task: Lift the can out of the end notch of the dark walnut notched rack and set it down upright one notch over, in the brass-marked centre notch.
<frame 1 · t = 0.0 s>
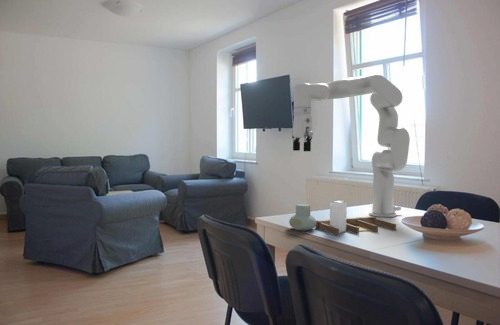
hand: (301, 150, 178), 31 cm above the table, fingers open, 9 cm apart
can: (337, 231, 161), resting in notch rack
air freshener: (302, 229, 164), on the table
notch rack: (356, 229, 165), on the table
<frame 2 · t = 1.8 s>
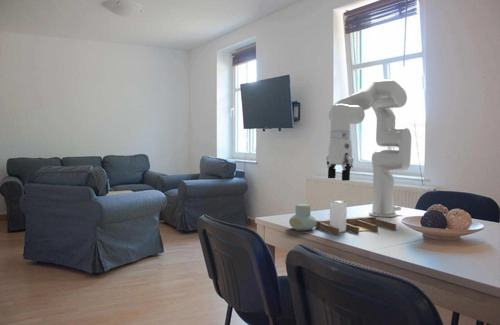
hand: (338, 179, 160), 21 cm above the table, fingers open, 9 cm apart
nothing on the table moved.
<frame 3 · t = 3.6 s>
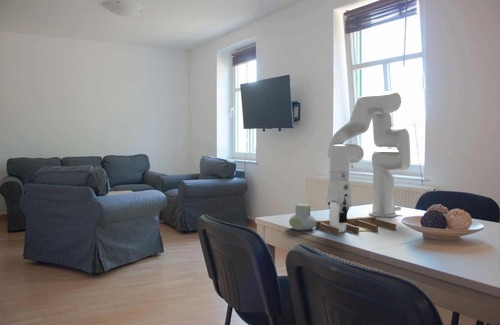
hand: (337, 220, 161), 4 cm above the table, fingers closed on can, 6 cm apart
can: (337, 231, 161), resting in notch rack, touching gripper
everything else where it was.
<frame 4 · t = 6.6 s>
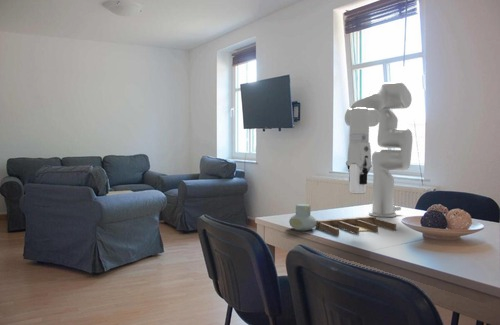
hand: (357, 182, 164), 19 cm above the table, fingers closed on can, 6 cm apart
can: (357, 193, 164), point 15 cm above the table, touching gripper
everything else where it was.
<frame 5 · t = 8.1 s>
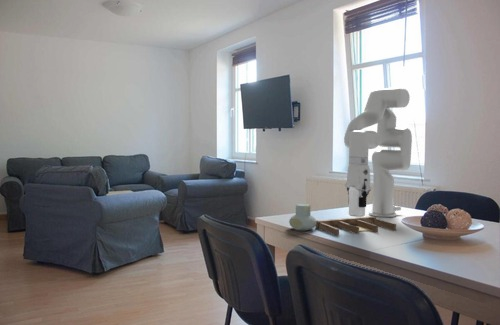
hand: (357, 205, 164), 10 cm above the table, fingers closed on can, 6 cm apart
can: (356, 215, 164), point 6 cm above the table, touching gripper
everything else where it was.
when the fingers open (6 cm above the table, at t = 9.4 s): can drops 1 cm, resting on notch rack.
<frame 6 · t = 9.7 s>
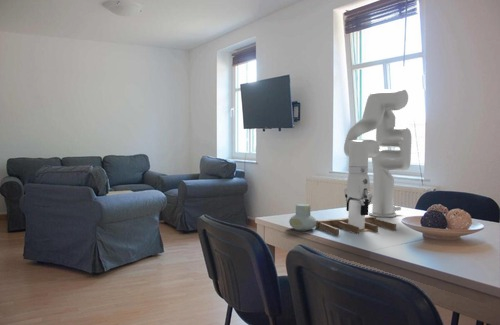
hand: (357, 212, 164), 7 cm above the table, fingers open, 9 cm apart
can: (356, 228, 165), resting on notch rack
everything else where it was.
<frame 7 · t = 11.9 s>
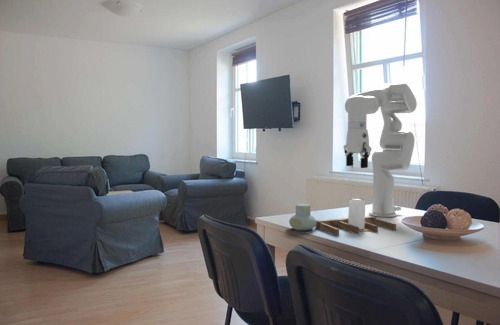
hand: (356, 166, 171), 25 cm above the table, fingers open, 9 cm apart
nothing on the table moved.
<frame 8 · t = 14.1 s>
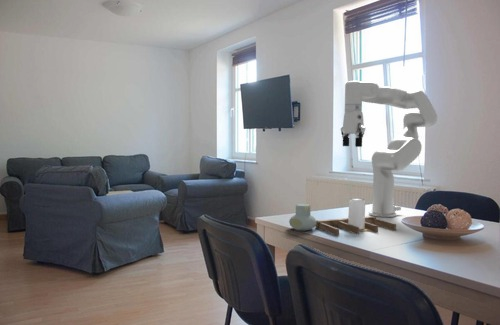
hand: (352, 146, 185), 33 cm above the table, fingers open, 9 cm apart
nothing on the table moved.
at the end: can 0.9 cm off-centre on the notch rack, point 0.1 cm above the notch rack's base; can tilted 0°; the gripper is holding nothing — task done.
